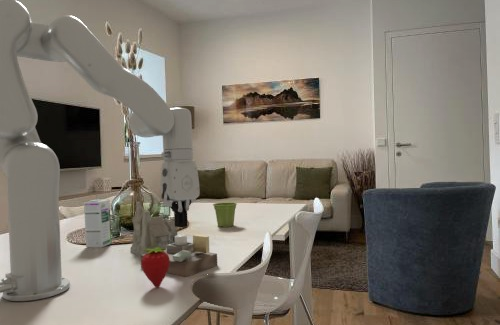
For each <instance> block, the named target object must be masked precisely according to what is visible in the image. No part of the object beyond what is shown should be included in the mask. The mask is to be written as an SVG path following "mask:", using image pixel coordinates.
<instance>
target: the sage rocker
mask: <svg viewBox="0 0 500 325" xmlns="http://www.w3.org/2000/svg"><path fill="white" fill-rule="evenodd" d="M191 256H192V254H191V251H187V250H182V251H180V252H178V253H176V254H175V255H173V260H174V261H179V262H182V261H184V260H185V259H186V257H191Z"/></svg>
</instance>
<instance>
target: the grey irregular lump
mask: <svg viewBox="0 0 500 325" xmlns="http://www.w3.org/2000/svg"><path fill="white" fill-rule="evenodd" d="M135 204H136V205H135V206H136V207H135V211H136V213H135V214H134V216H133V217H132V218H131V219H132V220H131V222H132V224H133V232H132V244H131V246H130V251H129V252H130V253H131V254H133V255H136V256H139V257H141V255H143V254H147V253H148V252H150V251H142V250H145V249H154V250H155V248H157V247H159V248H160V249H165V248H167V245H169V244H173V243H175V236H177V235H178V231H177V230H178V227H175V222H174V220H167V219H164V217H165V216H164V215H162V214H160V215H159V216H153V217H152V215H151V211H149V210H146V209H143V206H142V205H141V201H136V202H135ZM152 241H153V242H154V243H155V244H156V245H157V246H156V245H155V244H154V243H153V242H152Z"/></svg>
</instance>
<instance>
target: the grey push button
mask: <svg viewBox="0 0 500 325" xmlns="http://www.w3.org/2000/svg"><path fill="white" fill-rule="evenodd" d="M187 242H188V235H186V234H177V236H175V246H179V247H182V246H185V245H187Z"/></svg>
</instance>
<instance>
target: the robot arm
mask: <svg viewBox="0 0 500 325" xmlns="http://www.w3.org/2000/svg"><path fill="white" fill-rule="evenodd" d="M19 57H20V58H26V59H32V60H33V59H34V60H39V61H46V62H47V61H48V62H56V63H65V62H66V63H67V64H68V65H69V66H71V68H72V69H73V70H74V71H75V72H76V73H77V74H78V75H79V76H80V77H81V78H82V79H83V80H84V81H85V83H87V84H88V86H90V87H91V89H93V90H95V91H96V92H97V93H100V94H102V95H104V96H107V97H109V98H113V99H116V100H117V101H119V102H120V103H122V104H123V106H126V107H127V108H128V109H129V110H130V111H132V113H131V115H130V117H129V119H128V127H129V129H130V131H131V132H132V133H133V134H134V135H136V136H138V137H141V138H152V137H153V138H154V137H161V136H162V149H163V151H162V152H161V155H160V156H161V158H163V162H162V163H161V168H160V170H161V171H160V197H161V199H162V205H163V206H164V207H169V208H170V209H171V211H172V212H173V219H174V220H173V221H174V222H175V227H177V228H186V227H188V226H189V225H188V211H189V210H190V206H191V204H193V203H195V202H196V200H197V198H198V197H200V189H201V188H200V180H199V179H200V178H199V172H198V167H197V166H198V165H197V163H196V160H194V152H193V149H194V148H193V124H192V113H191V111H190V110H189V109H188V108H184V107H170V106H169V105H168V103H167V102H165V100H164V99H163V98H162V96H160V94H159V93H158V92H157V91H156V90H155V89H154V88H153V87H152V86H151V85H150V84H148V82H146V81H145V80H143V79H142V78H140V77H139V76H138V75H136V74H134V73H133V72H132V71H130V70H129V69H127V68H126V67H124V66H123V65H122V64H121V63H120V62H119V61H118V60H117V59H116V58H115V57H114V56H113V55H112V53H111V52H110V51H109V50H108V49H107V48H106V47H105V46H104V45H103V44H102V43H101V41H100V40H99V39H98V38H97V37H96V36H95V35H94V33H93V32H91V30H90V29H89V28H88V27H87V26H86V25H85V23H83V21H81V20H80V19H79V18H77V17H75V16H73V15H69V14H68V15H67V14H66V15H61V16H58V17H56V18H54V19H53V20H52V21H51V22H50V23H49V24H47V23H46V24H45V23H39V22H34V21H33V20H32V18H31V14H30V13H29V10H28V9H27V8H26V7H25V5H23V4H22V3H21V2H20V1H18V0H0V168H1V171H2V173H3V174H4V176H5V177H6V178H7V221H8V242H9V262H10V263H9V264H10V265H9V266H10V272H9V273H8V272H7V273H5V276H4V278H2V279H0V294H1V293H2V297H3V299H4V300H7V301H11V302H29V301H38V300H42V299H46V298H51V297H53V296H57V295H59V294H62V293H64V292H65V291H68V289H69V288H70V287H71V282H70V279H68V278H66V277H62V276H63V275H62V256H61V255H62V253H61V252H62V249H61V227H60V226H61V225H60V203H59V202H60V201H59V199H60V197H59V196H60V195H59V194H60V190H59V189H60V179H61V178H60V176H61V175H60V174H61V171H60V170H61V168H60V162H59V158H58V156H57V155H56V153H55V152H54V150H53V149H52V148H50V147H49V146H48V145H47V144H44V143H42V141H41V139H40V136H39V134H38V131H37V129H36V128H37V127H36V125H37V123H38V117H39V116H38V111H37V108H36V106H35V104H34V102H33V100H32V97H31V95H30V92H29V90H28V87H27V85H26V83H25V80H24V77H23V74H22V71H21V68H20V64H19V59H18V58H19Z"/></svg>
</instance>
